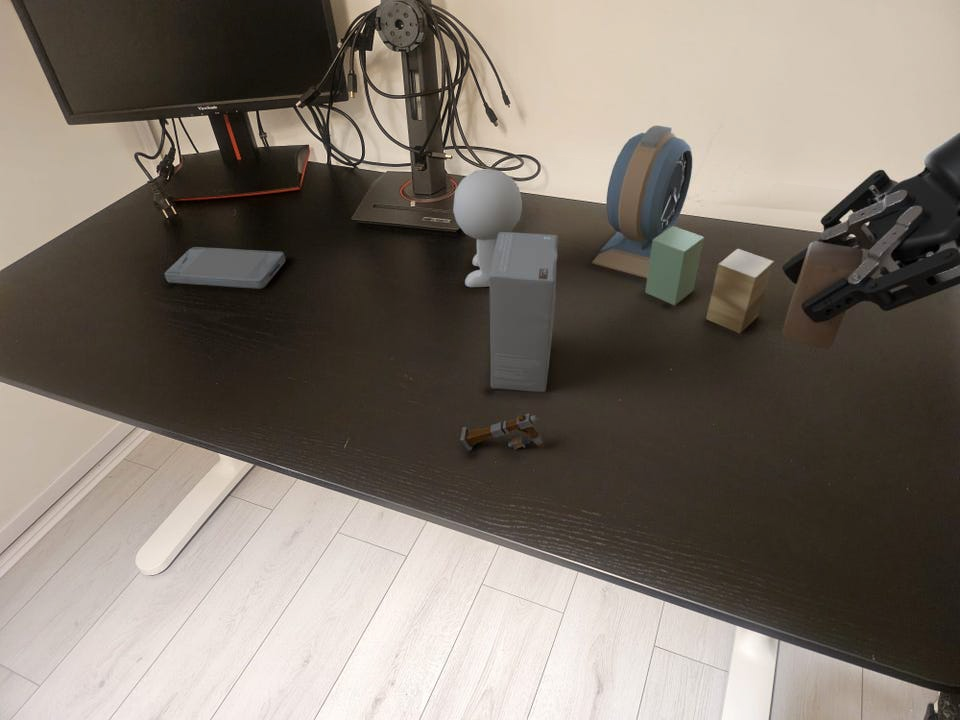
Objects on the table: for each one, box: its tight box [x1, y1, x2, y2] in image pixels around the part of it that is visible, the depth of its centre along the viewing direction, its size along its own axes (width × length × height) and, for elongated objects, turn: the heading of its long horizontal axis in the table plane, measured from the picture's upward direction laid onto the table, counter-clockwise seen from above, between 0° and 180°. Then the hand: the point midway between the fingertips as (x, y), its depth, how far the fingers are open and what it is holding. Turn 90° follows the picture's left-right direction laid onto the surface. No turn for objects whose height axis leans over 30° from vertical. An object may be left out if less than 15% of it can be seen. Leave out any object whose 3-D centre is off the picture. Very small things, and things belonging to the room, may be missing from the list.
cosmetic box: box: [489, 231, 559, 393], centre depth 66 cm, size 8×7×16 cm
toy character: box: [452, 168, 523, 288], centre depth 82 cm, size 9×9×15 cm
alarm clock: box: [591, 125, 693, 279], centre depth 83 cm, size 14×10×18 cm
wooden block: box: [781, 240, 864, 350], centre depth 52 cm, size 4×4×8 cm
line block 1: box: [644, 225, 705, 306], centre depth 78 cm, size 4×4×8 cm
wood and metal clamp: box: [460, 413, 544, 452], centre depth 61 cm, size 2×8×4 cm, turn 84°
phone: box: [163, 246, 287, 290], centre depth 91 cm, size 8×16×1 cm, turn 78°
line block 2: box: [705, 248, 775, 334], centre depth 73 cm, size 4×4×8 cm
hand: (798, 294), depth 52 cm, fingers closed on wooden block, 5 cm apart
